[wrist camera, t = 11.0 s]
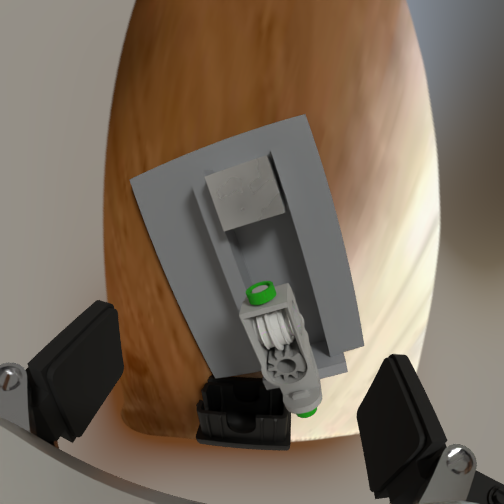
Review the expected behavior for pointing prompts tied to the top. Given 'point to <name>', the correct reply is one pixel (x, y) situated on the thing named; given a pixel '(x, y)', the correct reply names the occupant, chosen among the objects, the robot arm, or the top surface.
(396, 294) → the top surface
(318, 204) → the grey railed base plate
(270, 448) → the end cap
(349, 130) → the top surface
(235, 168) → the grey matte cube
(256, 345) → the mechanical component
